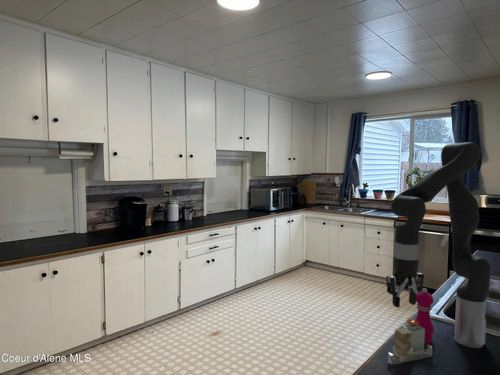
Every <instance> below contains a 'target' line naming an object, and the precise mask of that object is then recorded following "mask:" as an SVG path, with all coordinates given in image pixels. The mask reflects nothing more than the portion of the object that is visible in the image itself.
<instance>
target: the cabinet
mask: <svg viewBox="0 0 500 375" xmlns="http://www.w3.org/2000/svg"><path fill="white" fill-rule="evenodd" d="M400 328H405V329H407V330H408V331H410V332H411V349H413V352H415V351H420V350H424V349H425V343H424V338H425V329H424V328H422V327H420V326H418V327H417V330H414V331H412V330H411V329H409V328H408V323H407V324H401V325H400Z"/></svg>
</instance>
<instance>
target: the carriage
mask: <svg viewBox="0 0 500 375" xmlns="http://www.w3.org/2000/svg"><path fill="white" fill-rule="evenodd" d="M412 353H413V349H411V332H410V331H408V330H407V329H405V328H401V327H400V328H395V330H394V346H392V354H393V356H397V357H398V358H399V362H402V361H407V360H411V359H412Z"/></svg>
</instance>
